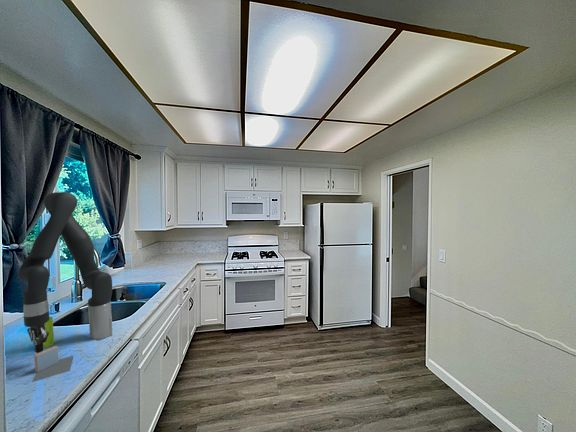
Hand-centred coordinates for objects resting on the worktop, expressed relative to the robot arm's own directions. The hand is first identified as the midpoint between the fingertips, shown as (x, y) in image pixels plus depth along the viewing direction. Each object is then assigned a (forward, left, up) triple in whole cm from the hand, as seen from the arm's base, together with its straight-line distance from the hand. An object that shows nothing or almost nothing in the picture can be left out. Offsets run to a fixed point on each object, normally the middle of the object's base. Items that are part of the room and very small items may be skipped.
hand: (39, 351), depth 106 cm
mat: (-6, +8, -6) cm, 11 cm away
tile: (-3, +5, -5) cm, 8 cm away
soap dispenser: (+1, -17, -6) cm, 18 cm away
